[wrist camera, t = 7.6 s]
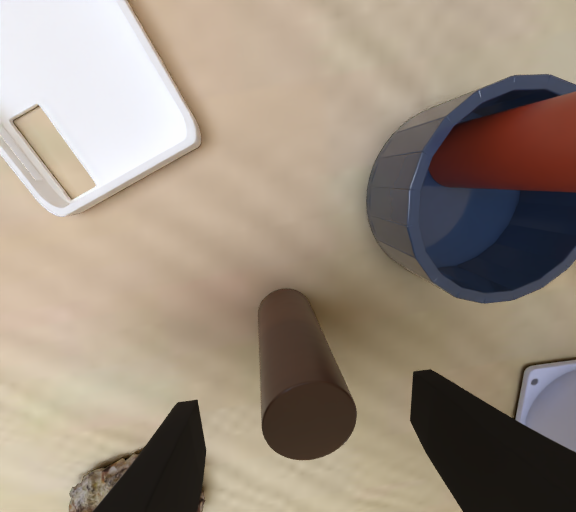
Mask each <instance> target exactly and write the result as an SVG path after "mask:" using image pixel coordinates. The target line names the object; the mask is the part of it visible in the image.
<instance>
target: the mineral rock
mask: <svg viewBox="0 0 576 512" xmlns="http://www.w3.org/2000/svg"><path fill="white" fill-rule="evenodd" d="M138 455H139V454H132V456H131V457H130V458H129V459H127V460H125V459H123V458H122V459H120V460H119V461H117V462H115V463H114V464H112V465H109V466H107V467H106V468H100V469H96V470H93V471H91V472H90V473H89V474H87V475H85V476H84V479H83V481H82V482H81V483H79V484H77V485H76V486H75V487H72V489H71V491H70V493H69V494H70V497H71V501H70V504H69V512H93V510H94V509H95V508H96V507H97V506H98V505H99V503H100V502H101V501H102V500H103V498H104V497H105V496H106V495H107V494H108V492H109V491H110V490H111V489H112V488H113V486H114V485H115V484H116V483H117V482H118V480H119V479H120V478H121V477H122V476H123V474H124V473H125V472H126V471H127V469H128V468H129V467H130V465H131V464H132V463H133V461H134V460H135V459H136V458H137V456H138ZM204 499H205V498H204V494H203V491H201V496H200V501H199V505H198V510H197V512H202V511H203V505H204V502H205V500H204Z"/></svg>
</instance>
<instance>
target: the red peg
mask: <svg viewBox="0 0 576 512" xmlns="http://www.w3.org/2000/svg"><path fill="white" fill-rule="evenodd" d="M429 172H430V174H431V176H432V177H433V179H434V180H435V181H436V182H437V183H439V184H440V185H442V186H445V187H456V188H480V189H504V190H528V191H552V192H576V92H572V93H568V94H565V95H561V96H557V97H554V98H550V99H546V100H543V101H539V102H535V103H531V104H528V105H524V106H520V107H517V108H513V109H509V110H506V111H502V112H498V113H495V114H491V115H487V116H484V117H480V118H476V119H473V120H469V121H465V122H462V123H458V124H457V125H455V126H454V127H453V129H452V130H451V131H450V133H449V134H448V136H447V137H446V139H445V140H444V141H443V143H442V144H441V146H440V147H439V149H438V150H437V152H436V153H435V154H434V156H433V158H432V160H431V163H430V166H429Z"/></svg>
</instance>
